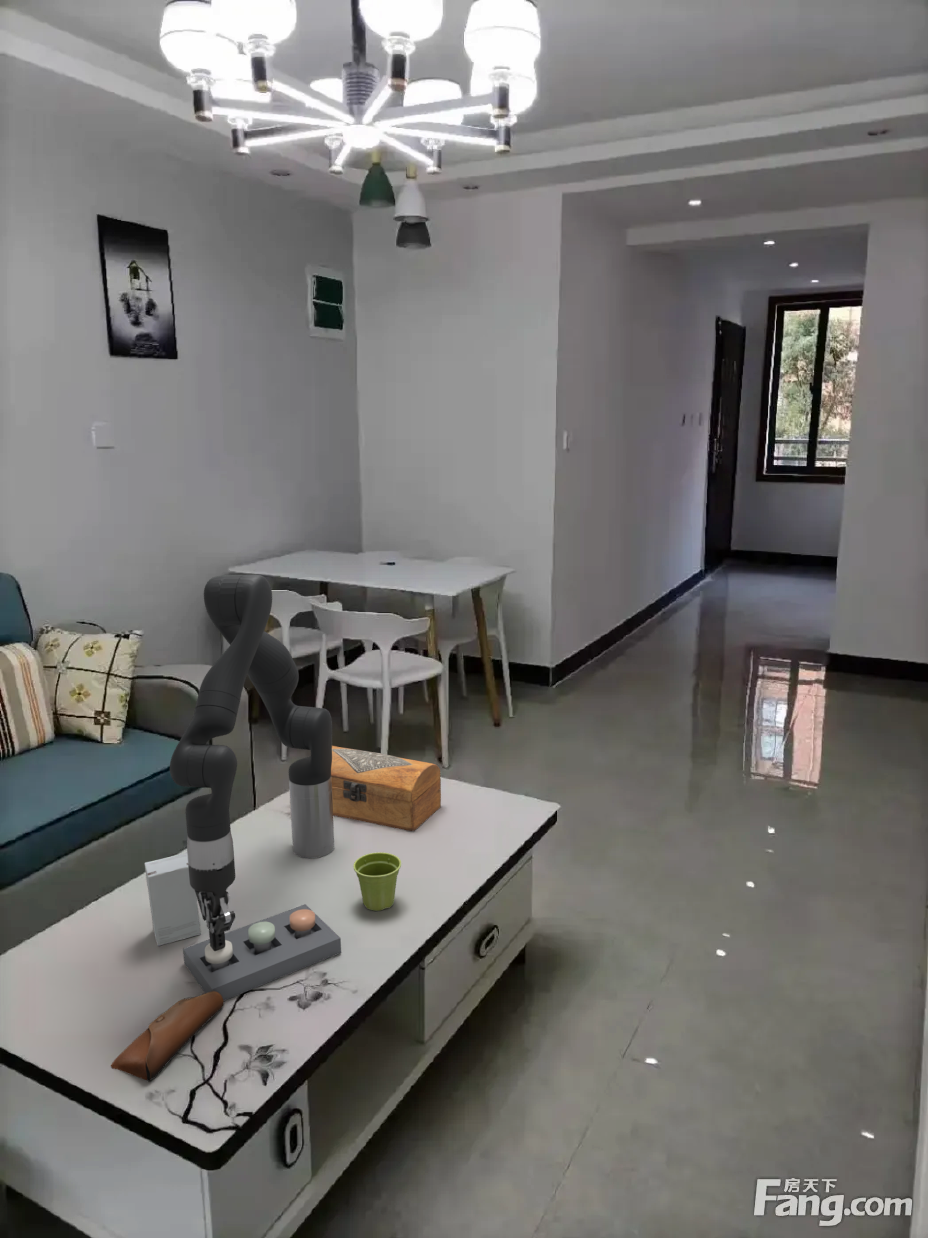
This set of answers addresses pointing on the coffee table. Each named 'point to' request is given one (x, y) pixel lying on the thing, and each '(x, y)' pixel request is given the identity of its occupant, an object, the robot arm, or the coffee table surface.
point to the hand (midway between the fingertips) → (218, 947)
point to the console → (262, 956)
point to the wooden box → (384, 788)
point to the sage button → (261, 936)
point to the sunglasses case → (167, 1035)
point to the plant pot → (377, 879)
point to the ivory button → (219, 956)
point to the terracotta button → (302, 922)
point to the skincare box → (172, 899)
